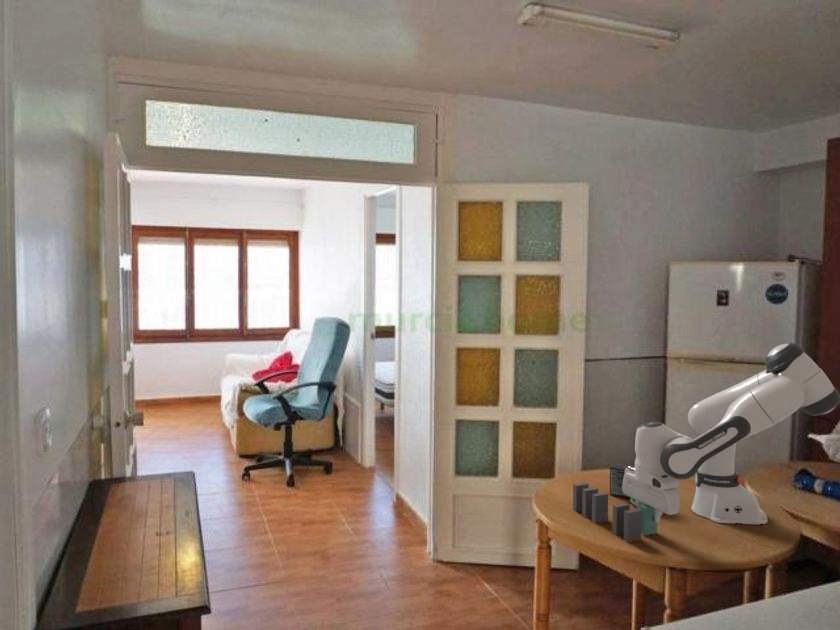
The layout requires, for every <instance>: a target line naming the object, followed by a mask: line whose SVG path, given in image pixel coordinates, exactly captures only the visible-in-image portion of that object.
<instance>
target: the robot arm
mask: <svg viewBox="0 0 840 630" xmlns="http://www.w3.org/2000/svg"><path fill="white" fill-rule="evenodd" d="M764 365H765V368H766V369H764V370H762V371H760V372H758V373H756V374H754V375H753V376H751V377H748V378H746V379H744V380H743V381H740V382H739V383H737V384H735V385H732V386H730V387H727V388H725V389H724V390H722V391H719V392H716V393H715V394H713V395H710V396H709V397H706V398H704V399H702V400H700V401H699V402H697V403H696V404H694V405H693V406H692V407H690V409H689V410H688V413H687V420H688V424H689V425H690V428H692V429H693V430H694V431H695V432H697V433H700V434H701V435H699V436H697V437H696V438H693V437H692V436H689V435H687V434H683V433H681V432H678V431H674V430H673V429H671V428H670V427H668V426H666V424H664V423H663V422H660V421H647V422H643V423H641V424H640V425H639V426H638V427H637V429H636V432H635V440H634V441H635V442H634V451H635V455H636V456H635V460H634V466H635V468H633V467H630V466H631V465H630V466H629V467H627V468H626V469H625V475H624V478H623V485H622V491H623V493H624V494H625V495H627V496H629V497H631V498H633V499H635V503H636V505H637V508H636V509H639V510H641V505H643V503H644V504H646V505H649V506H651V507H653V508H655V512H656V514H655V515H653V516H652V518H653V519H652V521H654V522H656V523H657V524H658V523H660V522H661V516H662V515H663V514H667V515H668V516H669V515H671V516H673V515H676V514H677V513H678V512H679V511H680V504H681V503H680V501H681V500H680V499H681V498H680V492H679V489H678V487H679V486H680V482H679V480H688V479H691V478H692V477H693V476H694V475H695V476H694V477H695V483H694V484H695V485H696V486H695V487H696V488H695V493H694V498H693V502H692V504H691V507H690V508H691V509H690V510H691V511H692V512H693V513H695V514H696V515H698V516H699V517H700V516H701V517H704V518H706V519H709V520H711V521H713V522H715V523H717V524H718V523H719V524H735V523H739V525H760V524H764V525H766V524H768V516H767V514H766V512H764V510H762V509H761V508H760V505H759V501H758V498H757V496H755V494H753V493H752V492H751V491H750V490H748V489H747V488H746V487H744V486H743V485H744V484H745V482H746V481H745V479H744V478H743V477H742V476H741V475H740V474H739V473H738V472H737V471H735V459H736V448H737V443H738V442H740V441H742V440H744V439H747V438H750V436H753V435H755V434H759V433H760V432H762V431H765V430H766V429H767V430H768V429H769V428H772V427H773V426H775V425H776V424H779V423H780V422H782V421H784V420H785V419H787V418H788V417H790V416H791V415H793V414H794V413H795V412H797V411H798V410H799V409H800V410H801V411H803V412H804V413H805V414H807V415H810V416H814V417H817V416H822V415H825V414H828V413H830V412H832V411H834V410H835V408H837V406H839V404H840V392H839V391H838V389H837V387H834V385H833V383H832V382H831V380H830V379H829V377H828V376H827V375H826V373H825V372H824V371H823V369H822V368H820V367H819V365H818V364H817V363H816V362H815V361H814V359H812V358H811V357H810V356H809V355H808V354H807V353H806V352H805V349H803V348H802V347H801V346H799V344H796V342H788V343H782V344H779V345H777V346H775V347H773V348H772V349H771V350H770V351H769V353H768V354H767V355H766V356H765V361H764ZM740 523H742V524H740ZM765 523H766V524H765Z"/></svg>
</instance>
